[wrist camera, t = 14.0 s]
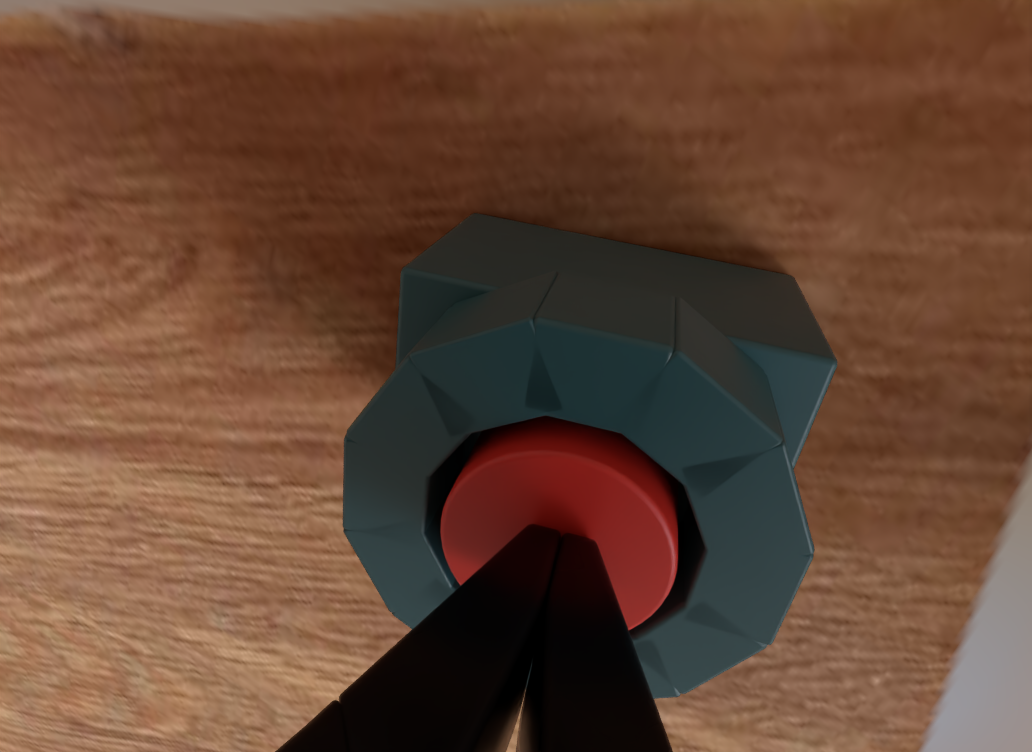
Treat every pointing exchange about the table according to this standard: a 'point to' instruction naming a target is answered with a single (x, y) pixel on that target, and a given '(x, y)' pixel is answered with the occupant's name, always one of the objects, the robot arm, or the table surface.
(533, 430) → the button
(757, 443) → the block
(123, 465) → the table surface
